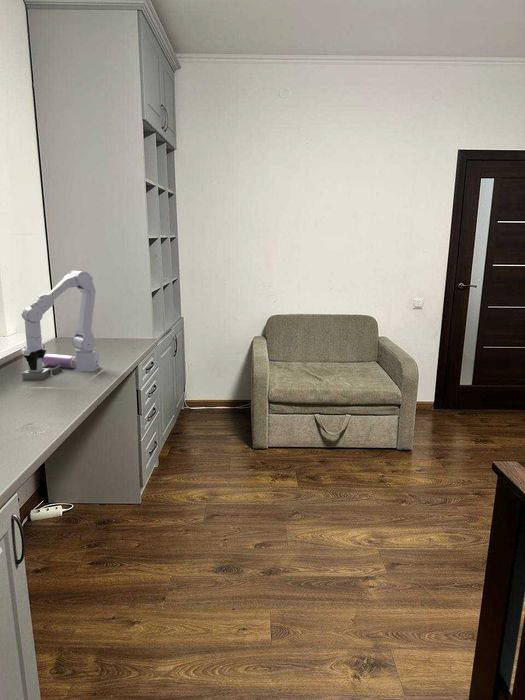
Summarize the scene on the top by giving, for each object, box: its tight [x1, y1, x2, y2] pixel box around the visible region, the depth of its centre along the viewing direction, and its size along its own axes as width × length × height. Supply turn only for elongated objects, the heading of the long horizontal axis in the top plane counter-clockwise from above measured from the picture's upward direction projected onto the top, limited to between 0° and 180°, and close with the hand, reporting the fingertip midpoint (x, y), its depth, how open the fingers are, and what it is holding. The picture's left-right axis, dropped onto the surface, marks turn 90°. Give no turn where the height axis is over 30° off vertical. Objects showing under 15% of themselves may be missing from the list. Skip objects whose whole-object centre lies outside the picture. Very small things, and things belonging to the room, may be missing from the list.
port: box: [21, 367, 52, 381], centre depth 201 cm, size 8×8×4 cm
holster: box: [42, 365, 62, 376], centre depth 209 cm, size 7×7×3 cm
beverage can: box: [42, 353, 76, 370], centre depth 218 cm, size 6×6×15 cm
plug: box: [27, 358, 43, 373], centre depth 200 cm, size 4×4×7 cm
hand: (36, 368), depth 200 cm, fingers closed on plug, 4 cm apart
